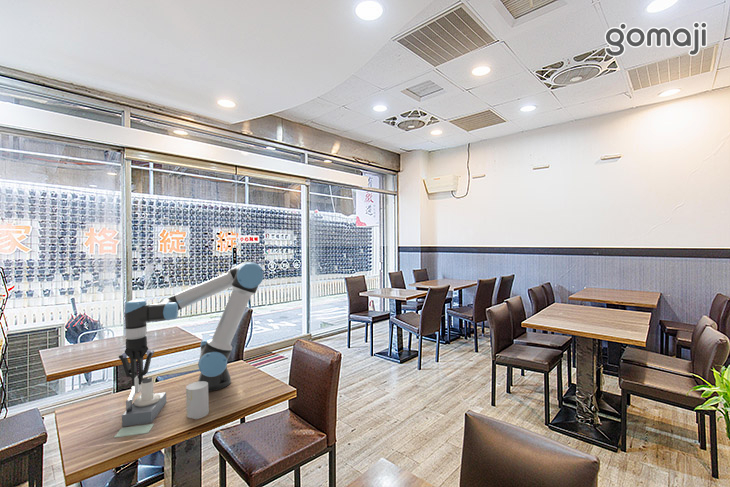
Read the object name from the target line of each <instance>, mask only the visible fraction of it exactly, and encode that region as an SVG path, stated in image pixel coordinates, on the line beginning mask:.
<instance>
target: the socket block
mask: <svg viewBox="0 0 730 487" xmlns="http://www.w3.org/2000/svg"><path fill="white" fill-rule="evenodd" d="M153 394H159V395H160V396H161V399H160V400H159V401H158V402H157V403H155V404H152V405H149V406H144V407H137V406H135V405H134V402H132V411H131V412H126V410H125V411H124V412H123V413H122V414H121V428H125V427H133V426H140V425H148V424H153V421H154V420H155V419H156V418H157V416H158V415H159V414H160V413H161V411H162V409H163V408H164V406H165V405H166V404H167V391H165V392H157V393H154V392H153ZM139 397H141V394H140V395H138V397H137V398H136V399H138V398H139Z"/></svg>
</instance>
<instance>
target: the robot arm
mask: <svg viewBox="0 0 730 487" xmlns="http://www.w3.org/2000/svg"><path fill="white" fill-rule="evenodd" d="M263 270H264V269H263V268H262V266H261V265H260V264H258V263H256V262H254V261H253V260H252V261H251V260H247V261H243V262H241V263H239V264H238V265H236V266H234V267H232V268H230V269H228V270H227V272H225V273H223V274H221V275H218V276H217V277H213V278H210V280H207V281H204V282H202V283H199V284H197V285H195V286H192V287H189V288H187V289H185V290H182V291H181V292H178V293H176V294H174V295H171V296H169V297H168V296H167V297H164V298H163V299H161V300H160V301H159V302H158V303H150V304H149V303H147V301H146V299H135V300H133V299H132V300H129V301H126V302H125V304H124V322H125V323H124V326H125V327H124V329H125V330H124V332H125V338H126V339H125V350H124V352H123V353H121V354H119V355H118V359H119V360H120V361H121V364H122V366H123V370H124V373H125V377H126V378H131V385H132V386H135V393H136V394H139V393H141V382H142V379H143V378H144V376H146V375H147V374H148V373H149V369H150V365H151V360H152V357H153V355H154V354H155V351H154V350H150V349H149V347H148V336H147V328H148V327H147V323H151V322H161V321H171V320H176V319H177V318H178V317H179V311H180V310H182V309H184V308H186V307H188V306H189V307H190V306H192V305H193V304H196V303H198V302H200V301H202V300H203V301H204V300H205V299H208V298H210V297H212V296H215V295H216V294H217V295H218V293H222V292H223V291H225V290H228V289H230V288H232V291H231V294H230V296H229V298H228V300H227V303H226V305H225V307H224V310H223V312H222V314H221V315H222V316H221V317H220V319H219V322H218V324H217V326H216V329H215V331H214V334H213V336H212V337H210V338H205V339H202V340H201V341H200V346H199V347H200V355H199V360H198V362H197V363H198V365H197V366H198V369H199V370H198V371H199V372H200V374H199V377H198V381H206V382H208V392H213V391H217V390H222V389H224V388H227V386H229V385H230V384H231V382H232V377H231V375H230V373H229V370H228V360H229V358H230V355H231V352H232V350H233V346H232V341H233V340H234V337H235V334H236V332H237V330H238V327H239V325H240V323H241V320H242V318H243V315H244V314H245V313H244V312H245V310H246V308H247V306H248V304H249V301H250V298H251V296H253V295H255V294H256V292H257V291H258V288H259V286H260V284H261V283H262V282H263V280H264V271H263ZM145 355H146V359H145V363H144V357H145ZM128 358H129V360H128ZM198 381H197V382H198Z"/></svg>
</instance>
